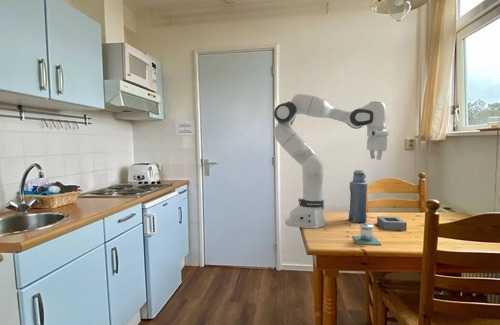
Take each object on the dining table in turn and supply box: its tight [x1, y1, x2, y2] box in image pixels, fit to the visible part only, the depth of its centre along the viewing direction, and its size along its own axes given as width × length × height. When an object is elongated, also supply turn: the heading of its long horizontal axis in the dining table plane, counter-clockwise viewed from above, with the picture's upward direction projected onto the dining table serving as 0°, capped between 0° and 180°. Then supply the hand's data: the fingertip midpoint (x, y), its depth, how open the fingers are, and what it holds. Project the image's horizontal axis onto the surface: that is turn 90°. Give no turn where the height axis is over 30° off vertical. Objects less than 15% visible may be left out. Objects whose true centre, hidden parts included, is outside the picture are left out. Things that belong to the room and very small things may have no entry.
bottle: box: [348, 169, 368, 224], centre depth 158 cm, size 10×10×30 cm
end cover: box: [359, 222, 375, 242], centre depth 126 cm, size 6×6×7 cm
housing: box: [376, 216, 408, 231], centre depth 147 cm, size 11×11×4 cm
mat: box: [352, 235, 382, 246], centre depth 126 cm, size 10×10×1 cm
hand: (375, 159), depth 143 cm, fingers open, 8 cm apart
